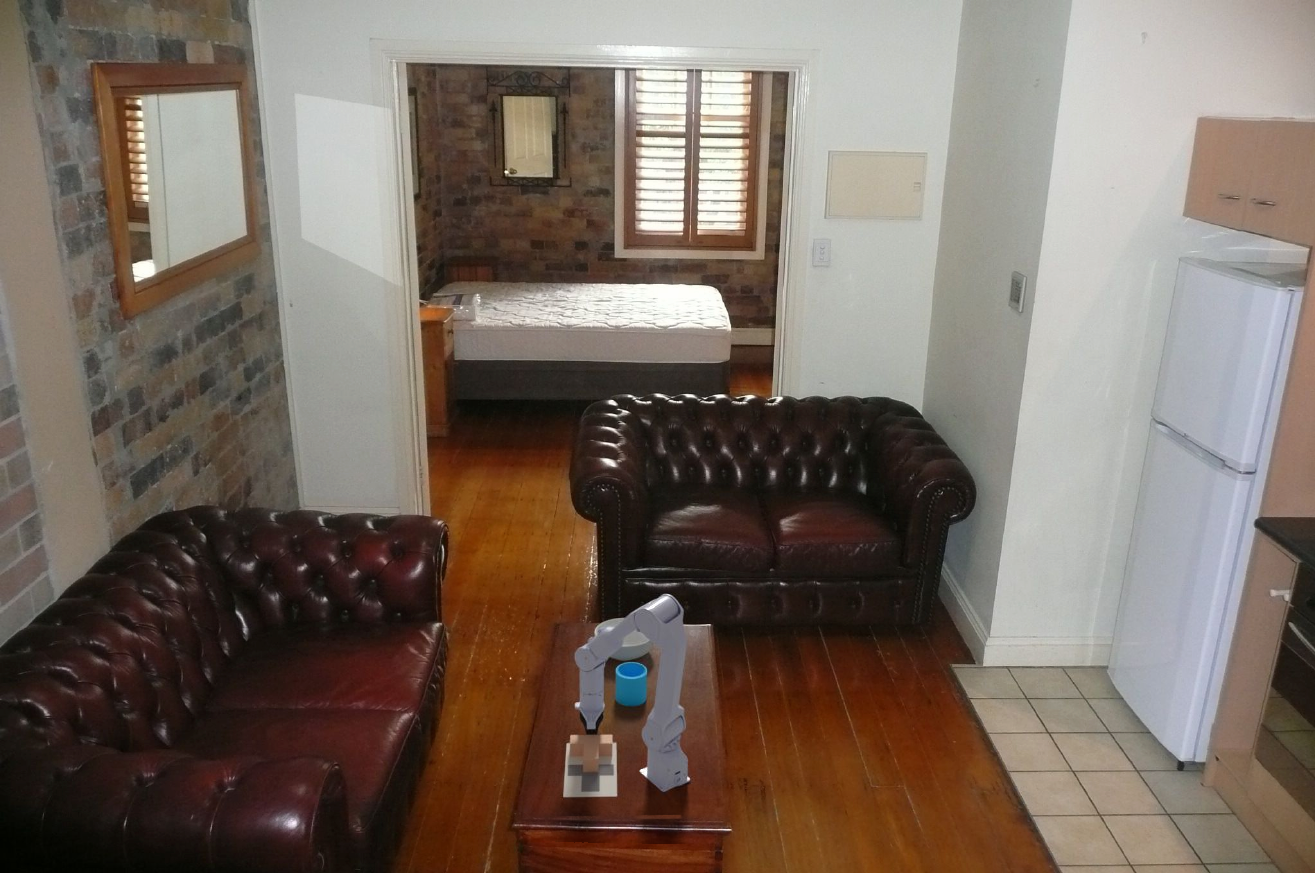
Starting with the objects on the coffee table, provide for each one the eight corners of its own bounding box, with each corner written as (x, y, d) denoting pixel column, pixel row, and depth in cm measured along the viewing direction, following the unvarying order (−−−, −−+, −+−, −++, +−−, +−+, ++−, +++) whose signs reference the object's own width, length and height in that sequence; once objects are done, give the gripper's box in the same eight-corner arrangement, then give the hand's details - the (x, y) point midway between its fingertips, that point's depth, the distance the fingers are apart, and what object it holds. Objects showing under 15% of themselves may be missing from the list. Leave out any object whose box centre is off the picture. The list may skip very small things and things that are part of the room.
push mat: (566, 745, 247) (566, 743, 247) (616, 744, 248) (616, 742, 248) (563, 799, 228) (563, 796, 228) (617, 798, 229) (617, 796, 229)
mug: (643, 707, 263) (644, 680, 261) (612, 704, 264) (613, 677, 262) (651, 683, 274) (651, 656, 272) (621, 680, 275) (621, 653, 273)
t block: (570, 747, 245) (570, 734, 244) (612, 746, 246) (612, 734, 245) (569, 772, 236) (569, 759, 235) (612, 771, 237) (612, 758, 236)
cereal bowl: (665, 649, 291) (665, 627, 289) (633, 675, 278) (633, 652, 275) (616, 632, 300) (616, 611, 297) (582, 657, 286) (582, 634, 284)
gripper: (575, 672, 250) (576, 720, 255) (573, 705, 237) (574, 755, 241) (604, 672, 251) (604, 719, 255) (604, 705, 237) (604, 755, 241)
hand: (591, 737), depth 248 cm, fingers closed
